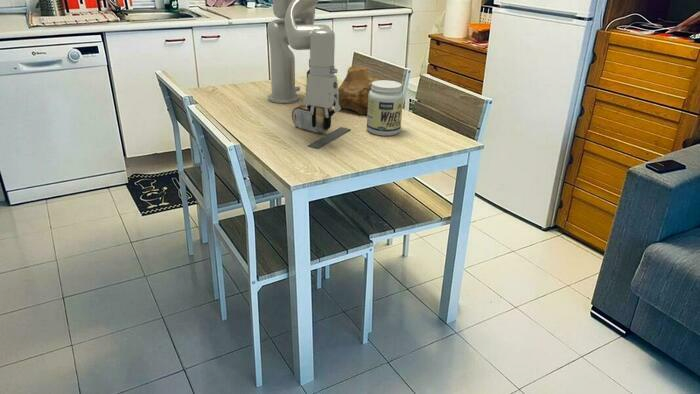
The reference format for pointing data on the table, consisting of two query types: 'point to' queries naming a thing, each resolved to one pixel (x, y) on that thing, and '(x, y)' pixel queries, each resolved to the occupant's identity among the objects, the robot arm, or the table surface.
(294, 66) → the robot arm
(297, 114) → the tin
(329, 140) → the strip
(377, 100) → the supplement tub
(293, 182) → the table surface
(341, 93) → the rough brown rock
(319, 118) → the tan and grey cylinder
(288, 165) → the table surface
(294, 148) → the table surface
